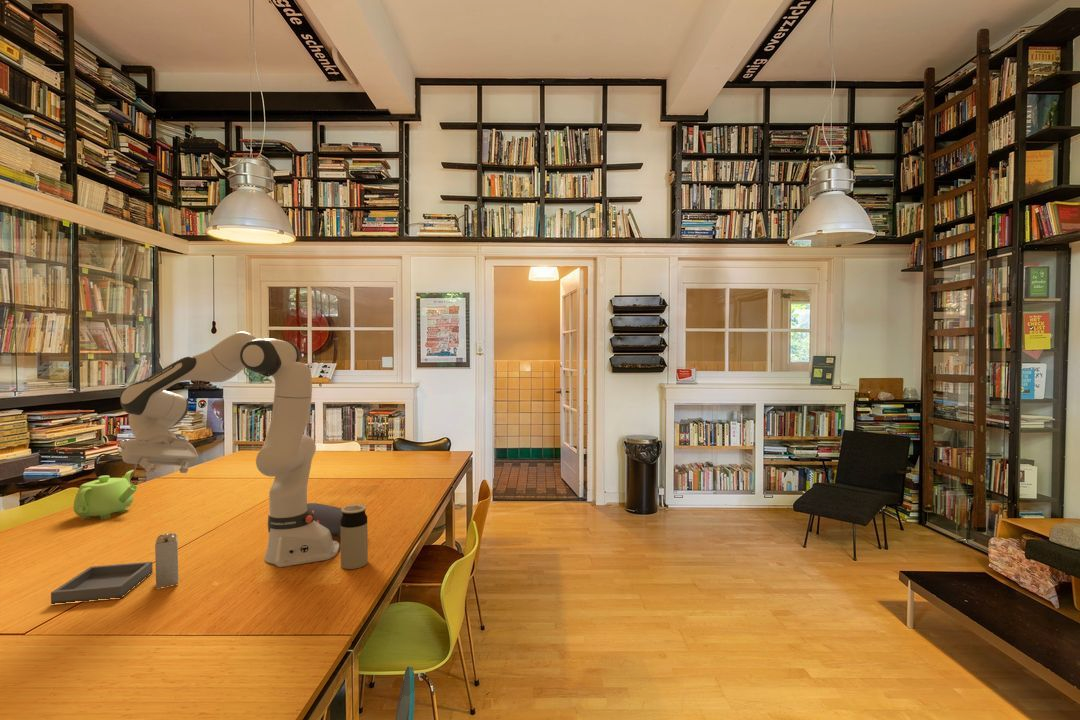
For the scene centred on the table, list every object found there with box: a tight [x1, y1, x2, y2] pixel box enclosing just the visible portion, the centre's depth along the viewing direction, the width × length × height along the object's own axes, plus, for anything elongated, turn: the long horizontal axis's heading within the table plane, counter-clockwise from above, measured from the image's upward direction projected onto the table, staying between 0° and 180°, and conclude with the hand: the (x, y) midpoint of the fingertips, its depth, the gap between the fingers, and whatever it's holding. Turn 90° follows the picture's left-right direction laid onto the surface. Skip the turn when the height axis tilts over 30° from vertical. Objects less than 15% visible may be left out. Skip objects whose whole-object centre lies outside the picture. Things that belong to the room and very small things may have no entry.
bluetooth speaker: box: [307, 502, 343, 537], centre depth 184 cm, size 23×9×10 cm, turn 62°
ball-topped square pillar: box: [154, 532, 179, 590], centre depth 144 cm, size 5×5×15 cm
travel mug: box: [340, 504, 369, 570], centre depth 158 cm, size 8×8×18 cm
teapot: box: [73, 469, 139, 520], centre depth 205 cm, size 25×22×16 cm
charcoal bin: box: [50, 561, 154, 605], centre depth 142 cm, size 16×16×4 cm
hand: (168, 471), depth 154 cm, fingers open, 8 cm apart
